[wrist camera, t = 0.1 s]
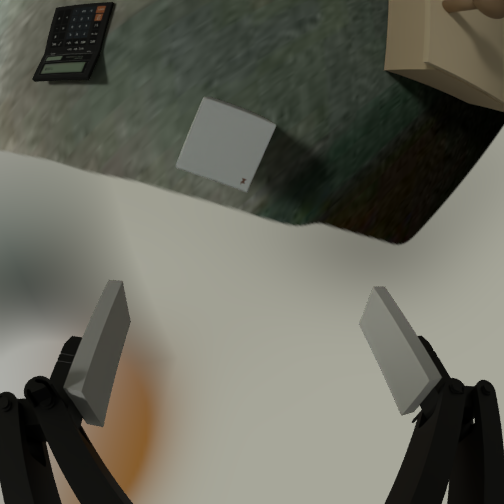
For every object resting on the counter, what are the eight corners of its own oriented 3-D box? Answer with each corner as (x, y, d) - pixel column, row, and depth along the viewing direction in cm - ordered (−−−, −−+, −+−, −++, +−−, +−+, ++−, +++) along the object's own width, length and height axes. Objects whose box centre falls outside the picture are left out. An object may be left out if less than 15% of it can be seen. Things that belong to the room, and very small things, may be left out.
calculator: (114, 3, 25) (106, -2, 23) (95, 80, 31) (86, 80, 28) (58, 8, 24) (49, 5, 21) (42, 81, 29) (31, 81, 27)
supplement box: (263, 115, 36) (280, 125, 25) (240, 165, 39) (247, 196, 28) (210, 94, 34) (203, 94, 23) (189, 146, 37) (173, 169, 26)
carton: (389, -25, 25) (434, -46, 14) (473, 19, 27) (522, 18, 16) (384, 69, 33) (435, 69, 23) (468, 103, 35) (519, 116, 25)
